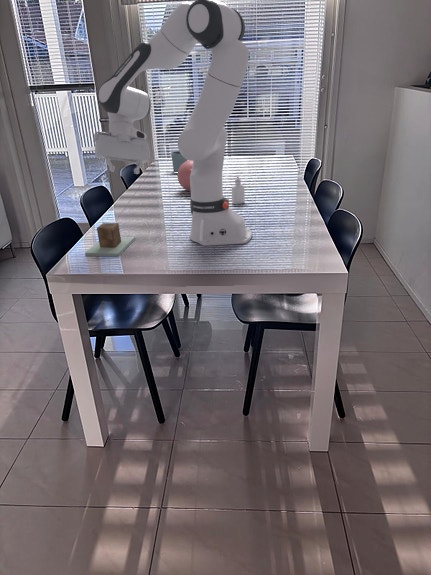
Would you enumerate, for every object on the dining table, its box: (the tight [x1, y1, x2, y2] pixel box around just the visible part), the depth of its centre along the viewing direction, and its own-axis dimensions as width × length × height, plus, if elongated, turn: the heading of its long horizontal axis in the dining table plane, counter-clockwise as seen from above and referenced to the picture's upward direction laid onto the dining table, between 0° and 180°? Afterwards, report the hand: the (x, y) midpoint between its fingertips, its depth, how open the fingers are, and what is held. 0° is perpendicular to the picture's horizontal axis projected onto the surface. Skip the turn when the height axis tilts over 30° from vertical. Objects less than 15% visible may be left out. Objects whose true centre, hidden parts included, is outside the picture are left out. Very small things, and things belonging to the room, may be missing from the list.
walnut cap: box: [96, 222, 122, 248], centre depth 149 cm, size 6×6×7 cm
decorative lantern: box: [176, 160, 193, 192], centre depth 212 cm, size 15×20×15 cm
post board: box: [84, 236, 136, 257], centre depth 149 cm, size 12×16×6 cm
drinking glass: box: [170, 150, 188, 173], centre depth 260 cm, size 10×10×12 cm
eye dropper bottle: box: [231, 175, 246, 205], centre depth 191 cm, size 4×6×12 cm
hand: (124, 172), depth 155 cm, fingers open, 8 cm apart
